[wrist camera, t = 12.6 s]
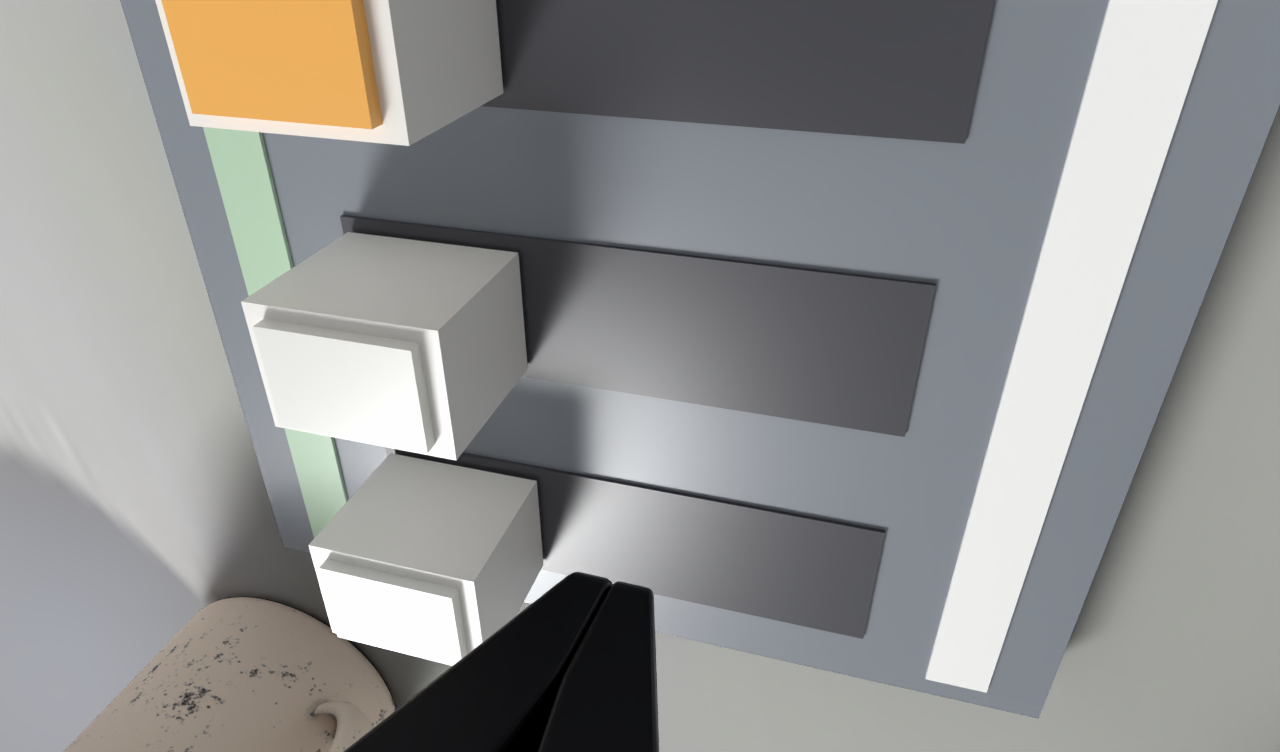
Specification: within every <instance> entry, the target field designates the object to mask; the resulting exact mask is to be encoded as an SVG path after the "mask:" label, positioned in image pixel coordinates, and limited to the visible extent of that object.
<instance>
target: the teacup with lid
mask: <svg viewBox="0 0 1280 752" xmlns="http://www.w3.org/2000/svg"><path fill="white" fill-rule="evenodd" d="M394 711H395V706H394V703H393V699H392V697H391V694H390V692H389V690H388V688H387V686H386V684H385V683H384V681H383V679H382V678H381V676H380V675H379V673H378V672H377V671H376V669H375V668H374V667H373V665H372V664H371V663H370V662H369V661H368V660H367V658H366V657H365V656H364V655H363V654H362V653H361V652H360V651H359V650H358V649H357V648H356V647H354V646H353V645H352V644H351V643H350V642H349V641H347V640H346V639H343V638H339V637H337V634H336V633H333V632H332V629H331V628H330V627H328V626H327V625H325V624H324V623H322V622H320V621H319V620H317V619H315V618H313V617H311V616H309V615H307V614H305V613H303V612H301V611H299V610H296V609H294V608H292V607H289V606H286V605H283V604H280V603H276V602H273V601H268V600H264V599H258V598H250V597H235V598H228V599H222V600H219V601H216V602H213V603H211V604H209V605H207V606H205V607H204V608H202V609H201V610H200V611H198V612H197V614H195V616H194V617H193V618H192V619H191V620H190V621H189V622H188V623H187V624H186V625H185V626H184V627H183V628H182V629H181V630H180V631H179V632H178V633H177V634H176V635H175V636H174V638H172V639H171V641H170V642H168V644H167V645H166V646H165V647H164V648H163V649H162V650H161V651H160V652H159V653H158V654H157V655H156V656H155V657H154V658H153V659H152V660H151V661H150V662H149V663H148V664H147V665H146V667H144V669H143V670H142V671H141V672H140V673H139V674H138V675H137V676H136V677H135V678H134V679H133V680H132V681H131V682H130V683H129V684H128V685H127V686H126V687H125V688H124V689H123V690H122V691H121V693H119V695H118V696H117V697H116V698H115V699H114V700H113V701H112V702H111V703H110V704H109V705H108V706H107V707H106V708H105V709H104V710H103V711H102V712H101V713H100V714H99V715H98V716H97V717H96V718H95V719H94V721H92V723H91V724H90V725H89V726H88V727H87V728H86V729H85V730H84V731H83V732H82V733H81V734H80V735H79V736H78V737H77V738H76V739H75V740H74V741H73V742H72V743H71V744H70V745H69V746H68V748H66V750H65V751H64V752H343V751H345V750H346V749H347V748H348V747H350V746H351V745H352V744H354V743H355V742H356V741H357V740H359V739H360V738H361V737H362V736H364V735H365V734H366V733H368V732H369V731H370V730H371V729H373V728H374V727H375V726H376V725H378V724H379V723H380V722H382V721H383V720H384V719H385V718H387V717H388V716H389V715H390V714H392V713H393V712H394Z"/></svg>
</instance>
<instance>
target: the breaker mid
mask: <svg viewBox="0 0 1280 752" xmlns="http://www.w3.org/2000/svg"><path fill="white" fill-rule="evenodd" d="M241 304H242V308H243V311H244V315H245V318H246V322H247V326H248V329H249V333H250V336H251V340H252V344H253V347H254V351H255V354H256V358H257V362H258V365H259V369H260V373H261V376H262V380H263V383H264V387H265V391H266V394H267V398H268V401H269V405H270V409H271V412H272V416H273V419H274V423H275V427H280V428H286V429H291V430H296V431H302V432H307V433H312V434H318V435H323V436H328V437H334V438H339V439H344V440H350V441H355V442H360V443H366V444H371V445H376V446H382V447H387V448H392V449H398V450H403V451H408V452H414V453H419V454H424V455H430V456H435V457H440V458H446V459H451V460H457V459H458V458H459V457H460V455H461V454H462V453H463V451H464V450H465V449H466V448H467V446H468V445H469V444H470V442H471V441H472V440H473V439H474V437H475V436H476V435H477V433H478V432H479V431H480V429H481V428H482V427H483V426H484V424H485V423H486V422H487V420H488V419H489V418H490V417H491V415H492V414H493V413H494V411H495V410H496V409H497V408H498V406H499V405H500V404H501V402H502V401H503V400H504V399H505V397H506V396H507V395H508V393H509V392H510V391H511V390H512V388H513V387H514V386H515V384H516V383H517V382H518V381H519V379H520V378H521V377H522V375H523V374H524V373H525V372H526V370H527V369H528V366H527V354H526V341H525V329H524V316H523V304H522V292H521V279H520V267H519V255H518V253H517V252H509V251H501V250H492V249H484V248H476V247H468V246H460V245H451V244H443V243H435V242H427V241H418V240H410V239H402V238H394V237H385V236H377V235H369V234H361V233H352V232H347V233H346V234H344V235H343V236H341V237H339V238H338V239H336V240H335V241H333V242H332V243H330V244H329V245H327V246H326V247H324V248H323V249H321V250H319V251H318V252H316V253H315V254H313V255H312V256H310V257H309V258H307V259H306V260H304V261H303V262H301V263H299V264H298V265H296V266H295V267H293V268H292V269H290V270H289V271H287V272H286V273H284V274H283V275H281V276H279V277H278V278H276V279H275V280H273V281H272V282H270V283H269V284H267V285H266V286H264V287H263V288H261V289H259V290H258V291H256V292H255V293H253V294H252V295H250V296H249V297H247V298H246V299H244V300H243V301H241Z"/></svg>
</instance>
